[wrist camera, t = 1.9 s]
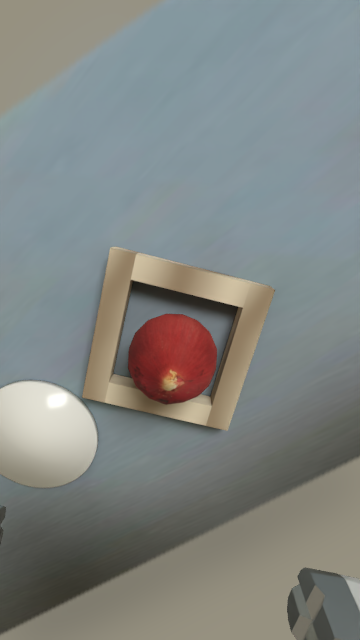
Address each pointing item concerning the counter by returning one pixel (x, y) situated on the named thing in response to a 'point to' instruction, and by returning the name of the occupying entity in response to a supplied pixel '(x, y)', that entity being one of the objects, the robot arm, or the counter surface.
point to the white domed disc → (44, 434)
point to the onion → (172, 358)
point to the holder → (190, 281)
